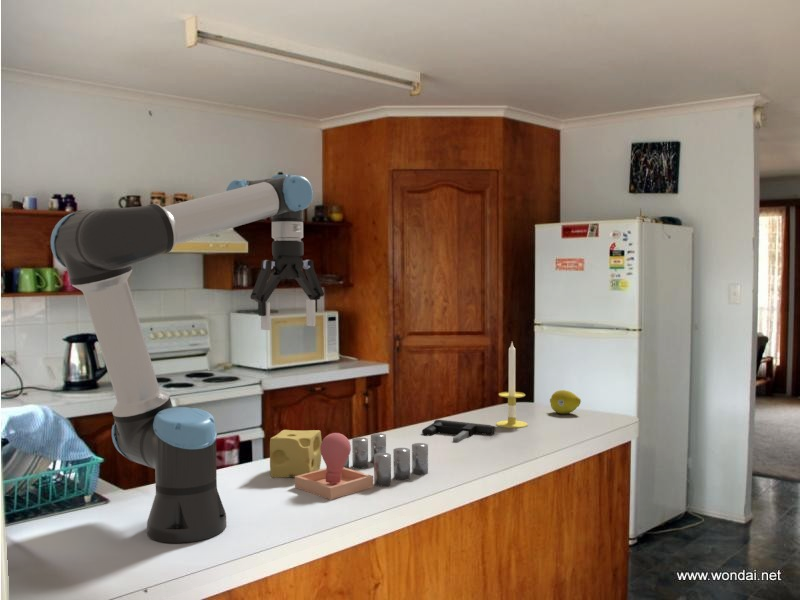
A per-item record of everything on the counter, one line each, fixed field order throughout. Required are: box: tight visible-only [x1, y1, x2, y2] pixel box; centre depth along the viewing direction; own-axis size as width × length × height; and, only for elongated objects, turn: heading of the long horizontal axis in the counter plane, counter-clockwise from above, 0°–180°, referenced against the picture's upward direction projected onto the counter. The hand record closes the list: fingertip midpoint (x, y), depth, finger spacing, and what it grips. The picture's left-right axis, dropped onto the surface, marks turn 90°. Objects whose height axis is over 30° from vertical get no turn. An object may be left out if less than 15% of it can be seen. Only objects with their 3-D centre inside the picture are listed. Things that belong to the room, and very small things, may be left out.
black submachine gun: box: [421, 419, 496, 443], centre depth 226 cm, size 3×20×16 cm
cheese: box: [269, 429, 323, 479], centre depth 187 cm, size 10×11×10 cm
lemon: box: [549, 389, 582, 415], centre depth 256 cm, size 11×8×8 cm
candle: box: [495, 342, 528, 429], centre depth 239 cm, size 10×10×27 cm
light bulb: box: [320, 432, 352, 484], centre depth 175 cm, size 7×7×12 cm
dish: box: [294, 467, 374, 501], centre depth 175 cm, size 13×13×3 cm
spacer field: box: [343, 432, 429, 488], centre depth 187 cm, size 17×19×7 cm
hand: (288, 327), depth 182 cm, fingers open, 13 cm apart
